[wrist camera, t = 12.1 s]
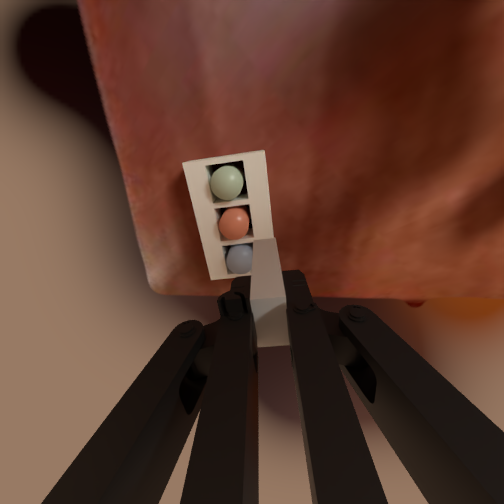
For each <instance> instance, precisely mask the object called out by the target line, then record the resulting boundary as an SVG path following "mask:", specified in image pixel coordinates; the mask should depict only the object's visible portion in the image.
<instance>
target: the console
mask: <svg viewBox="0 0 504 504" xmlns="http://www.w3.org/2000/svg"><path fill="white" fill-rule="evenodd" d="M241 160H243V163H244V170H245V177H246V184H247V191H248V193H244V194H239V195H238V196H237V197H236V198H234V199H231V200H223V199H220V198H218V197H217V196H216V195H215V194H214V193H213V191H212V189H211V185H210V181H211V177H212V175H213V169H212V165H213V164H220V163H227V162H234V161H241ZM182 164H183V168H184V172H185V176H186V180H187V184H188V188H189V192H190V197H191V201H192V205H193V209H194V213H195V217H196V221H197V225H198V229H199V233H200V237H201V241H202V245H203V249H204V254H205V258H206V262H207V266H208V270H209V274H210V278H211V280H217V279H227V278H236V277H238V276H248V275H251V272H252V269H251V270H250V271H249V272H248V273H245V274H236V273H233V272H232V271H231V270H230V269H229V268H228V266H227V263H226V260H227V256H228V253H229V250H228V245H234V244H243V243H251V242H253V240H260V239H269V238H274V235H273V226H272V216H271V207H270V197H269V187H268V178H267V168H266V159H265V151H264V150H260V151H253V152H246V153H239V154H233V155H226V156H219V157H212V158H205V159H199V160H192V161H188V162H184V163H182ZM247 204H249V205H250V212H251V219H252V226H253V228H248V231H247V233H246V235H245V236H244V237H242V238H241V239H238V240H231V239H228V238H226V237H225V236H224V235H223V234H222V233H221V231H220V229H219V222H220V219H221V217H222V215H221V209H220V208H223V207H231V206H239V205H247Z"/></svg>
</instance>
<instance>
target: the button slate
mask: <svg viewBox="0 0 504 504" xmlns="http://www.w3.org/2000/svg"><path fill="white" fill-rule="evenodd" d="M252 255H253V242H251V243H243V244H234V245H231V246H230V249H229V253H228V256H227V260H226V263H227V266H228V268H229V269H230V270H231V271H232V272H233V273H236V274H245V273H248V272H249V271H250V270H251V269H252Z"/></svg>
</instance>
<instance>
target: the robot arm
mask: <svg viewBox="0 0 504 504" xmlns="http://www.w3.org/2000/svg"><path fill="white" fill-rule="evenodd" d="M217 303H218V306H219V311H220V315H221V318H220V319H219V320H218V321H216V322H214V323H211V324H208V325H205V326H203V325H202V323H201V322H199V321H197V320H189V321H185V322H182V323H181V324H179V325H177V327H175V329H173V331H172V332H171V333H170V335H169V336H168V337H167V339H166V340H165V341H164V343H163V344H162V345H161V346H160V348H159V349H158V350H157V352H156V353H155V354H154V356H153V357H152V358H151V360H150V361H149V362H148V364H147V365H146V366H145V367H144V369H143V370H142V371H141V373H140V374H139V375H138V377H137V378H136V379H135V381H134V382H133V383H132V385H131V386H130V387H129V389H128V390H127V391H126V392H125V394H124V395H123V397H122V398H121V399H120V401H119V402H118V403H117V404H116V406H115V407H114V408H113V410H112V411H111V412H110V414H109V415H108V416H107V418H106V419H105V420H104V421H103V423H102V424H101V425H100V427H99V428H98V429H97V431H96V432H95V433H94V435H93V436H92V437H91V439H90V440H89V441H88V443H87V444H86V445H85V446H84V448H83V449H82V450H81V452H80V453H79V454H78V456H77V457H76V458H75V460H74V461H73V462H72V464H71V465H70V466H69V468H68V469H67V470H66V472H65V473H64V474H63V475H62V477H61V478H60V479H59V481H58V482H57V484H56V485H55V486H54V487H53V489H52V490H51V492H50V493H49V494H48V495H47V497H46V498H45V499H44V500H43V502H42V503H41V504H158V503H159V501H160V499H161V497H162V494H163V492H164V490H165V488H166V485H167V483H168V481H169V479H170V476H171V474H172V472H173V470H174V467H175V465H176V463H177V461H178V458H179V456H180V454H181V452H182V449H183V447H184V445H185V443H186V440H187V438H188V436H189V434H190V431H191V429H192V427H193V424H194V422H195V420H196V418H197V416H198V413H199V411H200V414H199V419H198V424H197V428H196V432H195V437H194V442H193V446H192V451H191V456H190V460H189V465H188V469H187V474H186V479H185V483H184V488H183V492H182V497H181V501H180V504H259V493H258V490H259V489H258V488H259V487H258V351H257V345H258V347H269V346H280V345H281V346H282V345H290V351H291V362H292V367H293V373H294V379H295V386H296V393H297V400H298V407H299V413H300V421H301V428H302V434H303V441H304V448H305V454H306V462H307V469H308V475H309V482H310V489H311V495H312V502H313V504H388V502H387V499H386V496H385V494H384V491H383V488H382V485H381V482H380V480H379V477H378V474H377V471H376V469H375V465H374V463H373V460H372V457H371V454H370V451H369V448H368V446H367V443H366V440H365V437H364V434H363V432H362V429H361V426H360V423H359V420H358V417H357V415H356V412H355V409H354V407H353V403H352V401H351V398H350V395H349V392H348V389H347V386H346V384H345V381H344V378H343V375H342V372H343V373H344V375H345V376H346V378H347V379H348V381H349V382H350V384H351V385H352V387H353V389H354V390H355V392H356V393H357V395H358V396H359V398H360V399H361V401H362V402H363V404H364V405H365V407H366V408H367V410H368V412H369V413H370V415H371V416H372V417H373V419H374V421H375V422H376V424H377V425H378V427H379V428H380V430H381V431H382V433H383V434H384V436H385V438H386V439H387V441H388V442H389V444H390V445H391V447H392V448H393V450H394V451H395V453H396V454H397V456H398V457H399V459H400V460H401V462H402V464H403V465H404V466H405V468H406V470H407V471H408V473H409V474H410V476H411V477H412V479H413V480H414V482H415V483H416V485H417V486H418V488H419V489H420V491H421V493H422V494H423V496H424V497H425V499H426V500H427V502H428V503H429V504H504V432H503V431H502V430H501V429H500V428H499V427H497V426H496V425H495V424H494V423H493V422H492V421H491V420H490V419H489V418H488V417H486V416H485V415H484V414H483V413H482V412H481V411H480V410H479V409H478V408H477V407H476V406H475V405H474V404H472V403H471V402H470V401H469V400H468V399H467V398H466V397H465V396H464V395H463V394H462V393H461V392H459V391H458V390H457V389H456V388H455V387H454V386H453V385H452V384H451V383H450V382H449V381H447V380H446V379H445V378H444V377H443V376H442V375H441V374H440V373H439V372H437V370H435V369H434V368H433V367H432V366H431V365H430V364H429V363H428V362H427V361H426V360H425V359H423V358H422V357H421V356H420V355H419V354H418V353H417V352H416V351H415V350H414V349H413V348H411V347H410V346H409V345H408V344H407V343H406V342H405V341H404V340H403V339H402V338H401V337H400V336H399V335H397V334H396V333H395V332H394V331H393V330H392V329H391V328H390V327H389V326H388V325H386V324H385V323H384V322H383V321H382V320H381V319H380V318H379V317H378V316H377V315H376V314H374V313H373V312H372V311H371V310H369V309H368V308H366V307H363V306H359V305H347V306H345V307H343V308H342V309H341V310H340V311H339V313H333V312H328V311H324V310H321V309H320V308H318V306H317V305H316V303H314V302H313V299H312V296H311V293H310V291H309V288H308V285H307V282H306V279H305V276H304V274H303V273H302V272H301V271H300V270H290V271H281V266H280V260H279V254H278V249H277V243H276V238H269V239H260V240H253V255H252V272H251V275H248V276H238V277H236V278H235V279H234V280H233V281H232V284H231V289H230V291H228V292H226V293H224V294H222V295H221V296H220V297H219V298H218V300H217ZM340 369H341V370H342V372H341V370H340Z"/></svg>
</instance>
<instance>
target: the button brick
mask: <svg viewBox="0 0 504 504" xmlns="http://www.w3.org/2000/svg"><path fill="white" fill-rule="evenodd" d="M249 219H250V212H249V210H248V208H247V207H246V206H245V205H239V206H231V207H227V208H226V209H225V211H224V213H223V215H222V217H221V219H220V222H219V229H220V231H221V233H222V234H223V235H224V236H225V237H226V238H228V239H231V240H238V239H241V238H242V237H244V236H245V235H246V233H247V231H248V227H249Z"/></svg>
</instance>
